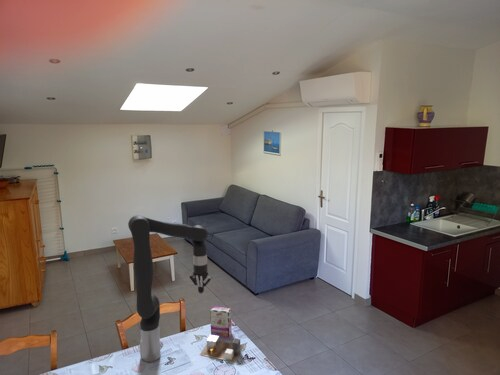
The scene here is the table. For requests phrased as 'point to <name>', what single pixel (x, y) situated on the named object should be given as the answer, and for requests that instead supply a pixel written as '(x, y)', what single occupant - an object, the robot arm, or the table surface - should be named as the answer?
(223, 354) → the tan rectangular open box
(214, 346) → the cube with orange peg
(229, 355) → the matte white cube
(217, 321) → the candy bar box
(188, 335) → the table surface
